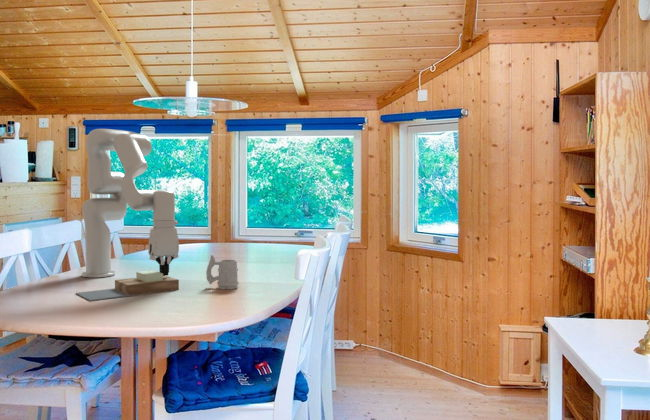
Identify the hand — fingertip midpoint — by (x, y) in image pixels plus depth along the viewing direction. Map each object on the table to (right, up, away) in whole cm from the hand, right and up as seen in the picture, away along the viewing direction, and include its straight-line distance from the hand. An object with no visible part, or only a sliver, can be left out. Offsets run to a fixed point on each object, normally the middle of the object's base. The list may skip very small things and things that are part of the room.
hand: (164, 275), depth 204 cm
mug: (+21, -5, +1) cm, 21 cm away
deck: (-5, -5, -4) cm, 8 cm away
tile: (-4, 0, -4) cm, 6 cm away
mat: (-16, -5, -14) cm, 22 cm away
